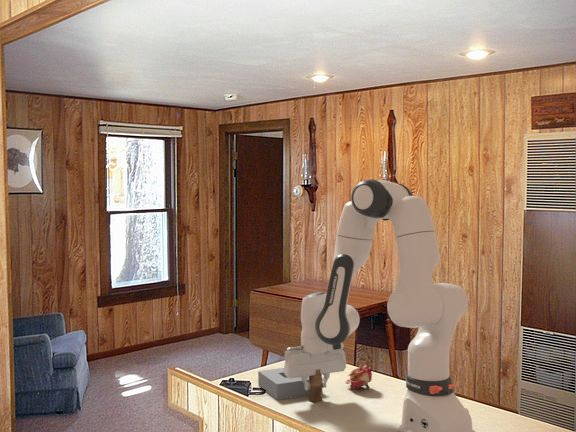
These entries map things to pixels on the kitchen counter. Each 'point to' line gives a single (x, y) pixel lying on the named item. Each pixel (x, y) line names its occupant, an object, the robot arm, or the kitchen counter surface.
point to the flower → (360, 377)
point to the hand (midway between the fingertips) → (315, 388)
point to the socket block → (281, 384)
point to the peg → (315, 387)
